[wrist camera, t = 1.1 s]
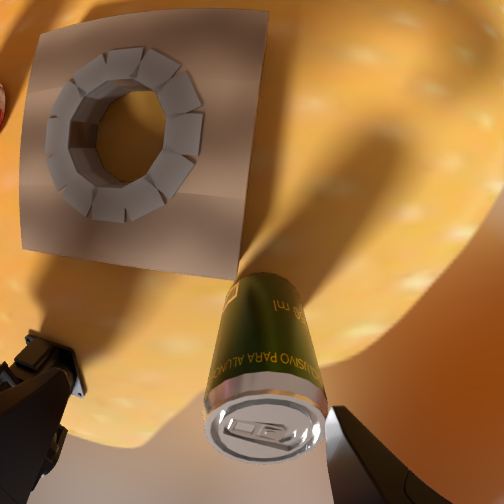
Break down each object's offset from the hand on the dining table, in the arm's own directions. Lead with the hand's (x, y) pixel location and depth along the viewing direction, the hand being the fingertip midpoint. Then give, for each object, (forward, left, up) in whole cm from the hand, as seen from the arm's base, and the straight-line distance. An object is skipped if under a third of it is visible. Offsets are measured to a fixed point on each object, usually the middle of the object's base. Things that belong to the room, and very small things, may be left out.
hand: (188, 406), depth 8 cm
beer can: (-3, -3, -14) cm, 14 cm away
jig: (+8, +7, -13) cm, 17 cm away
